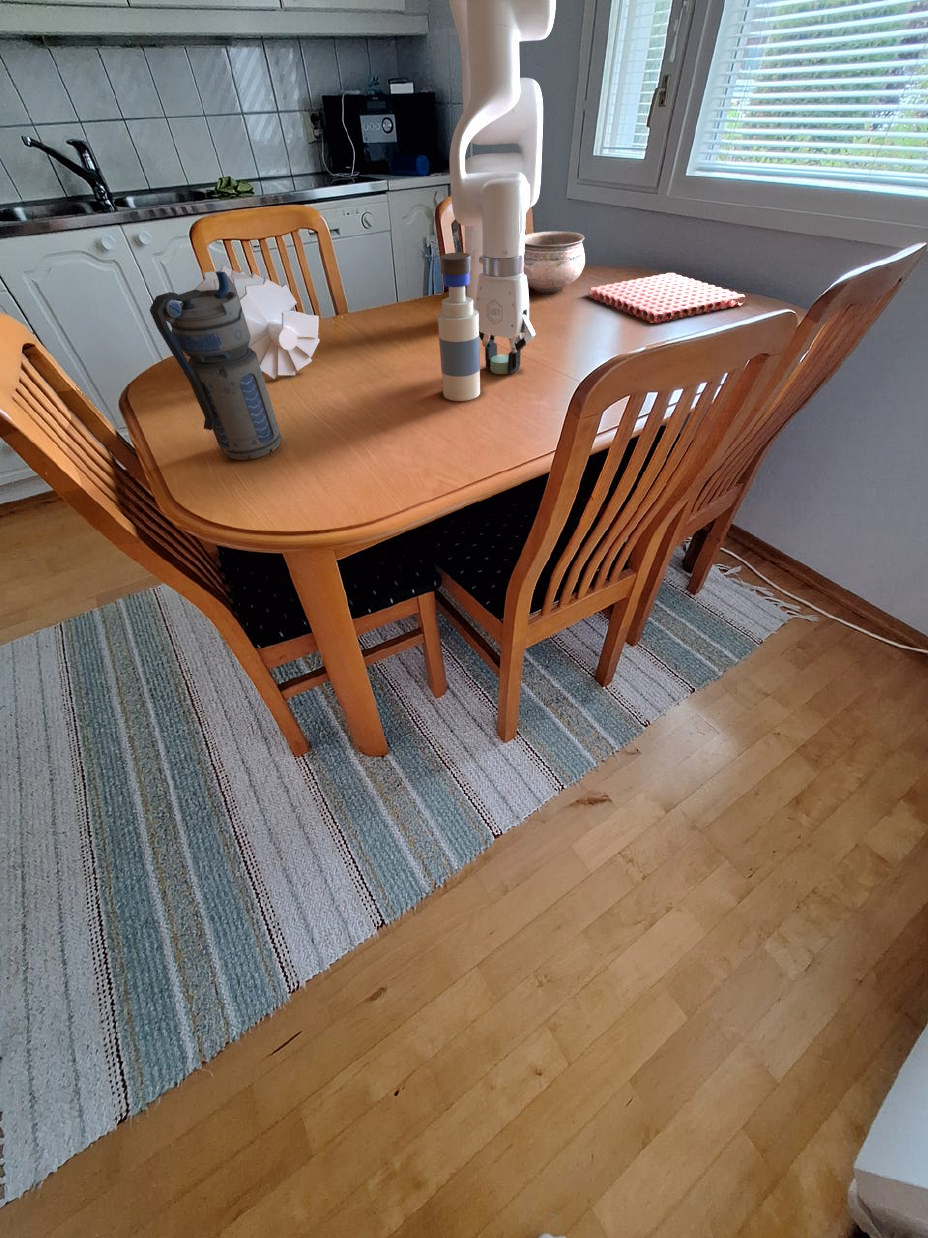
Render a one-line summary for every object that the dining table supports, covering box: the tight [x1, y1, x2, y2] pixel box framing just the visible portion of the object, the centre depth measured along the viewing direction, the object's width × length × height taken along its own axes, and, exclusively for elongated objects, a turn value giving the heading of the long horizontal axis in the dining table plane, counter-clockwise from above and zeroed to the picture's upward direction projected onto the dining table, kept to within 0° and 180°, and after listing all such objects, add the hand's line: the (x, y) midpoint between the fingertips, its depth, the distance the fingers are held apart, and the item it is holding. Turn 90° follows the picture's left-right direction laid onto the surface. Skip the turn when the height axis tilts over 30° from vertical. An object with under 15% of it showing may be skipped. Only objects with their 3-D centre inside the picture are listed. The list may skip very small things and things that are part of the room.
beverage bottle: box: [149, 270, 282, 461], centre depth 81 cm, size 10×13×25 cm
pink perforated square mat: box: [587, 272, 746, 324], centre depth 138 cm, size 28×28×2 cm
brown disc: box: [439, 252, 471, 275], centre depth 87 cm, size 5×5×2 cm
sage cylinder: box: [489, 353, 510, 375], centre depth 109 cm, size 5×5×2 cm
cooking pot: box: [524, 230, 586, 295], centre depth 145 cm, size 25×19×12 cm
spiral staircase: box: [193, 264, 321, 380], centre depth 111 cm, size 18×18×25 cm
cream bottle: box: [437, 273, 481, 402], centre depth 96 cm, size 7×7×20 cm
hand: (502, 367), depth 110 cm, fingers closed on sage cylinder, 5 cm apart
